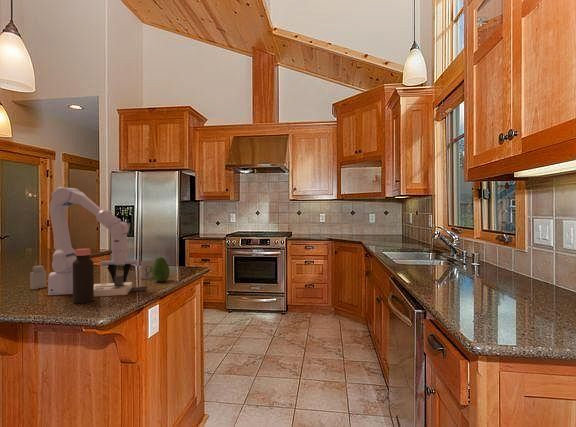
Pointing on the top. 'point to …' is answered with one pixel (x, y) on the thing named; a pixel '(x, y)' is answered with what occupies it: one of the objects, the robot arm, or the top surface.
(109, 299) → the top surface
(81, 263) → the bottle
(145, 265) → the electrical switch
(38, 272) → the power adapter
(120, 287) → the power strip
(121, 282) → the breaker slider
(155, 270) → the avocado
